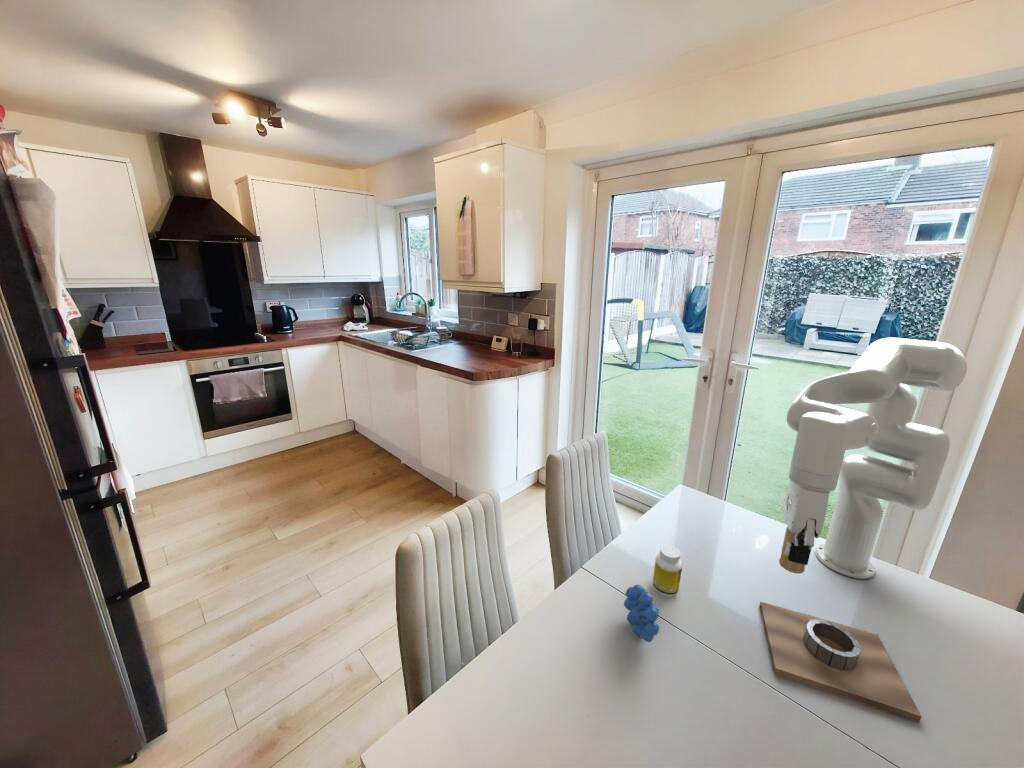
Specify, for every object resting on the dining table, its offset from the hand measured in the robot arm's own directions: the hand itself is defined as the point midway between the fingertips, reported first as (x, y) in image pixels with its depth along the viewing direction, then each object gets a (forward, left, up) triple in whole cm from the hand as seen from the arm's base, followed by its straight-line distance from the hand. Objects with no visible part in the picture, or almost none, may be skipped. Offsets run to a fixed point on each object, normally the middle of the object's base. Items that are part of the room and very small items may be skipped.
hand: (794, 553), depth 82 cm
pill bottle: (-4, -23, -21) cm, 32 cm away
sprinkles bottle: (0, 0, -4) cm, 4 cm away
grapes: (+12, -27, -21) cm, 36 cm away
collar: (+2, +9, -19) cm, 21 cm away
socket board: (+2, +9, -21) cm, 23 cm away
